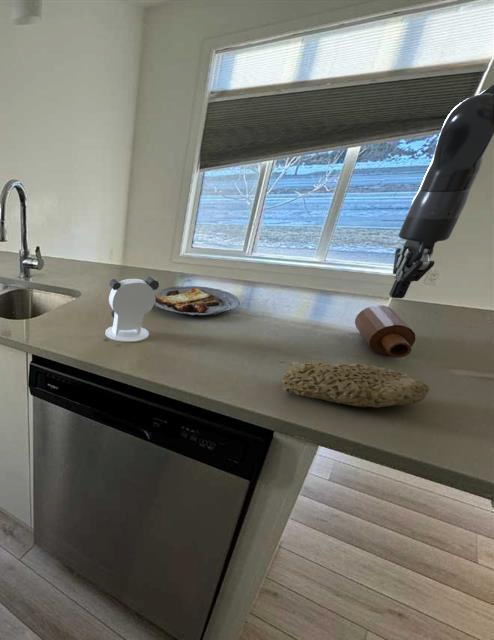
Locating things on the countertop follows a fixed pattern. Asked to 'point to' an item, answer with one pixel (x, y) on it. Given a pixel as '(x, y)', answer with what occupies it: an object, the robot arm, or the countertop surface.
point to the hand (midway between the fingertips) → (395, 296)
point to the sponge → (354, 384)
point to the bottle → (385, 331)
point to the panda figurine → (130, 308)
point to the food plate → (195, 300)
